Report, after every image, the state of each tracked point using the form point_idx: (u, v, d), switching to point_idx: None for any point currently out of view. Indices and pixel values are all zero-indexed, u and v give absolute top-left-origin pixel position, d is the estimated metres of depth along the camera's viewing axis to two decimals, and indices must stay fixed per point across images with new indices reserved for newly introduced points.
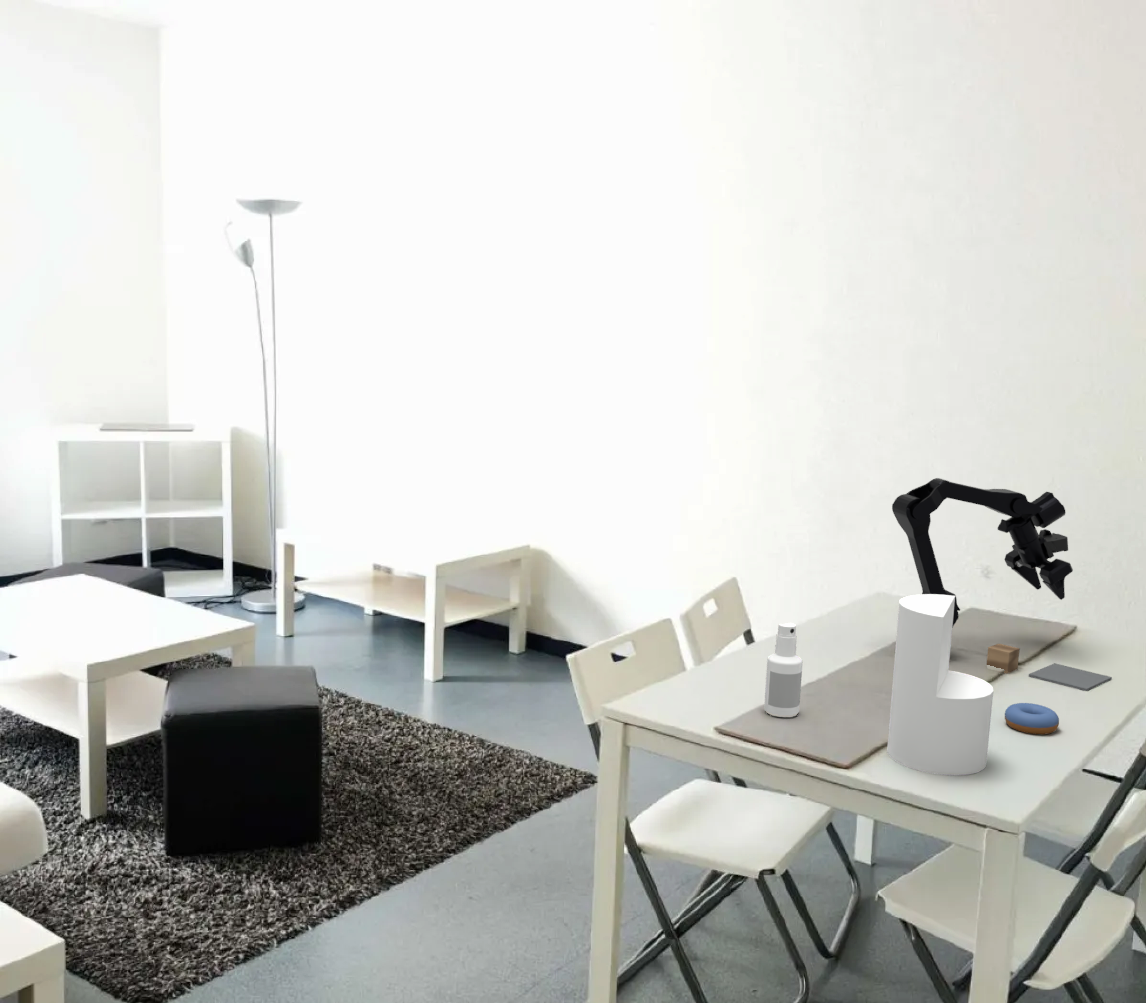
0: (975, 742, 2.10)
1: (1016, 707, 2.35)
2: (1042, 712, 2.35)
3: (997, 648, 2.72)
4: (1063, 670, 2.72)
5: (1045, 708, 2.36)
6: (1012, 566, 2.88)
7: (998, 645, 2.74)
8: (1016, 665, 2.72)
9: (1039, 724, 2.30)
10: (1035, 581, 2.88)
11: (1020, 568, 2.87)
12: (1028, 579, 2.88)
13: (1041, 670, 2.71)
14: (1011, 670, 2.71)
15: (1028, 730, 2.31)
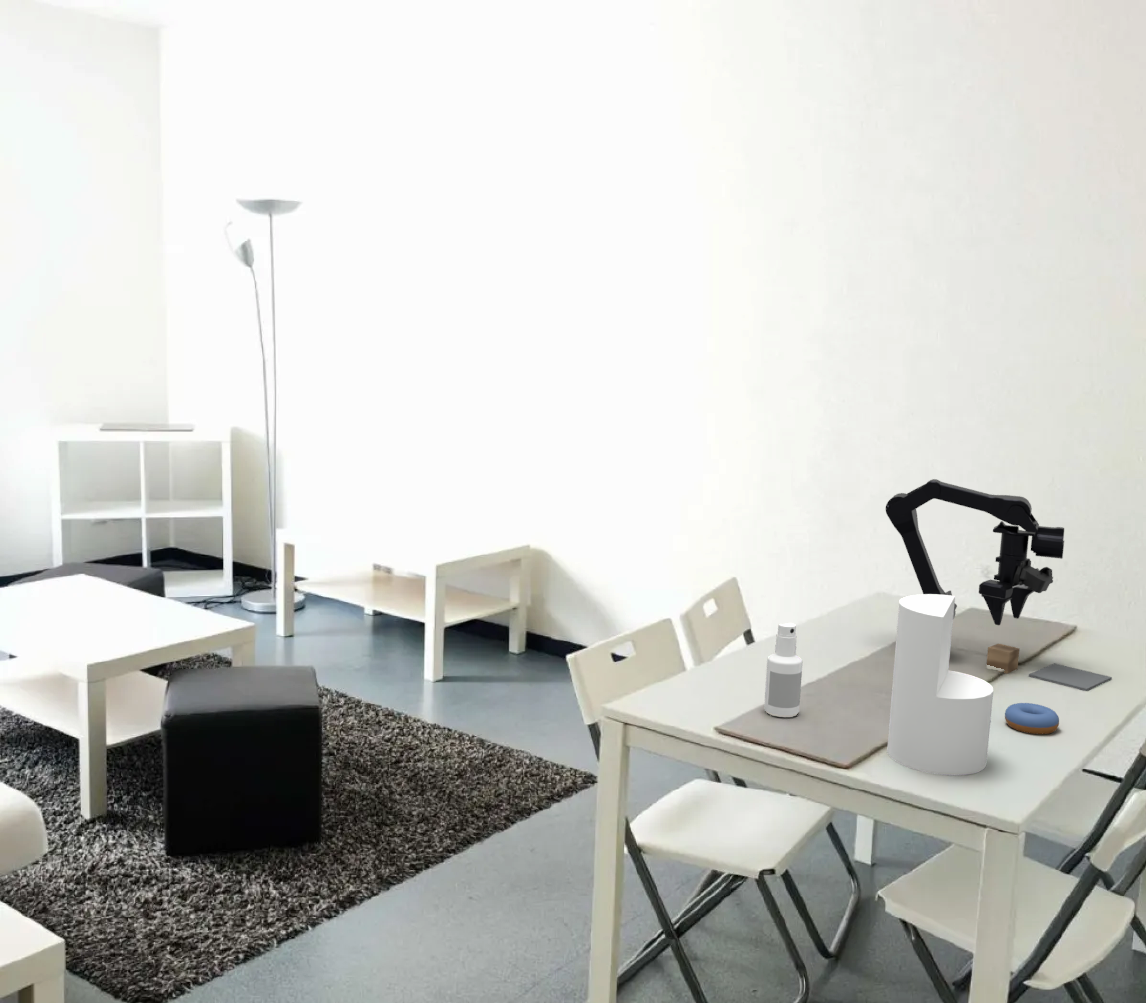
0: (975, 742, 2.10)
1: (1016, 707, 2.36)
2: (1042, 712, 2.35)
3: (997, 648, 2.72)
4: (1063, 670, 2.72)
5: (1045, 708, 2.36)
6: None
7: (998, 645, 2.74)
8: (1016, 665, 2.73)
9: (1039, 724, 2.30)
10: (1016, 608, 2.74)
11: None
12: (1011, 601, 2.75)
13: (1041, 670, 2.71)
14: (1011, 670, 2.71)
15: (1028, 730, 2.31)
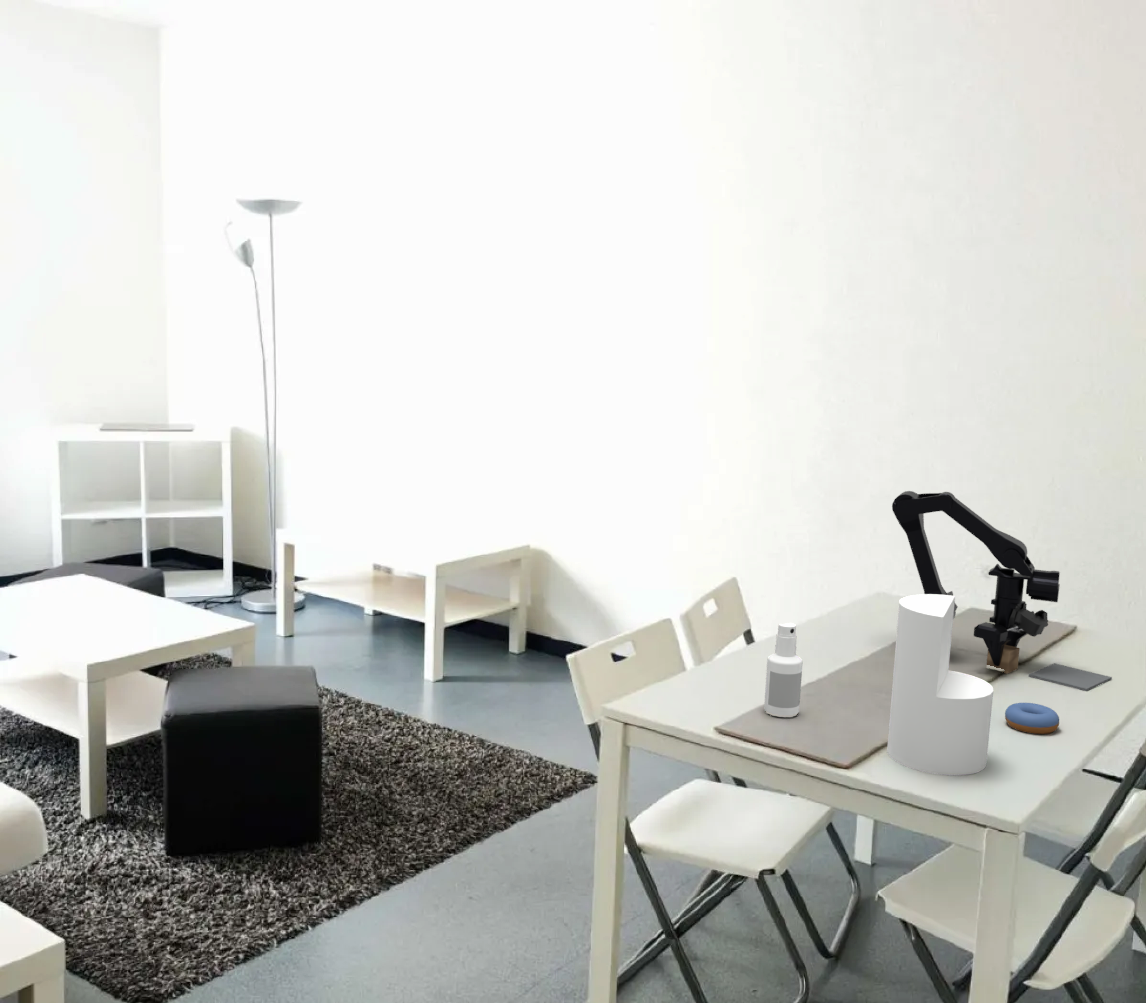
0: (975, 742, 2.10)
1: (1017, 707, 2.36)
2: (1042, 712, 2.35)
3: None
4: (1063, 670, 2.72)
5: (1045, 708, 2.36)
6: None
7: None
8: (1017, 665, 2.72)
9: (1040, 724, 2.31)
10: None
11: None
12: None
13: (1041, 670, 2.71)
14: (1011, 670, 2.71)
15: (1028, 730, 2.31)
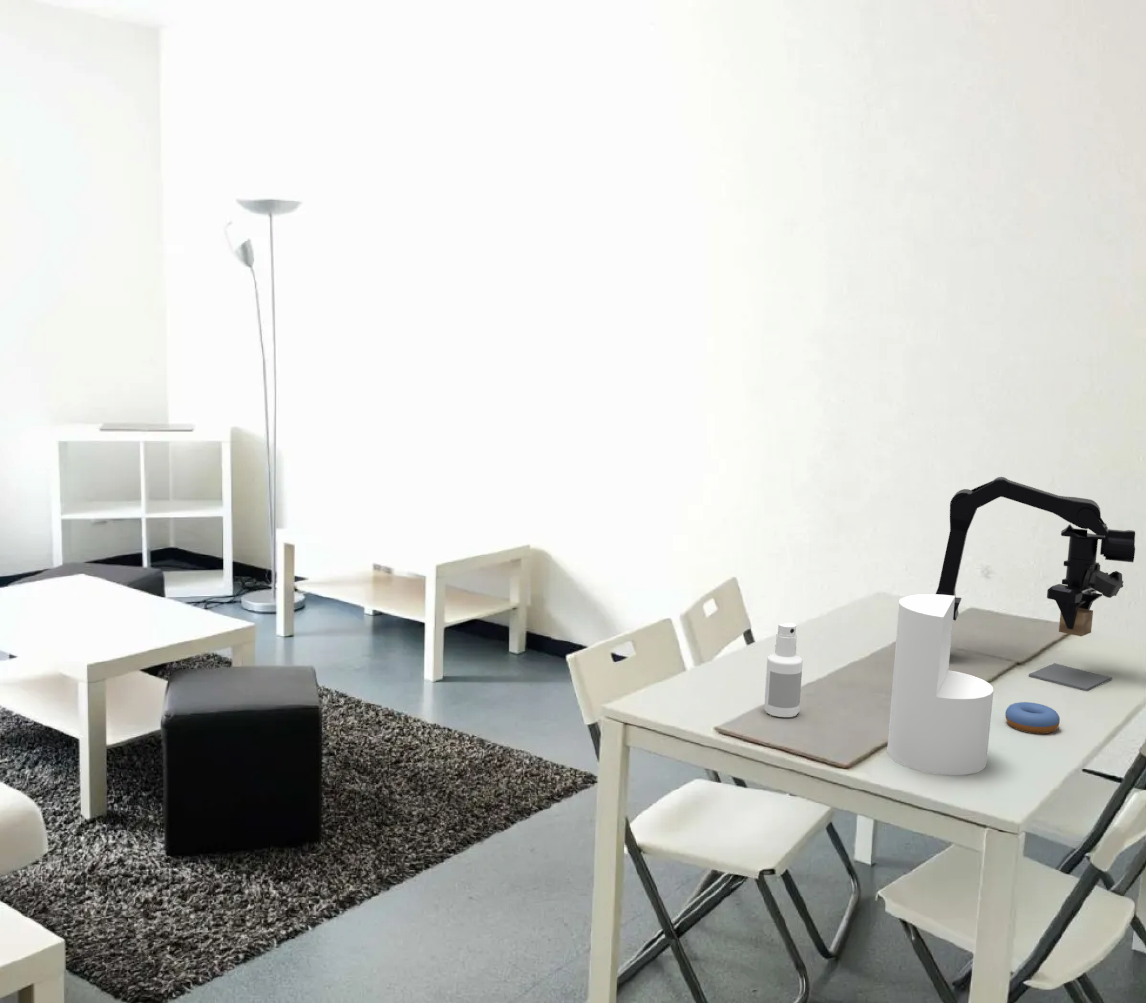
0: (975, 742, 2.10)
1: (1017, 707, 2.36)
2: (1043, 711, 2.35)
3: None
4: (1063, 670, 2.72)
5: (1045, 707, 2.36)
6: None
7: None
8: (1090, 628, 2.66)
9: (1040, 723, 2.31)
10: None
11: None
12: None
13: (1041, 670, 2.71)
14: (1085, 633, 2.64)
15: (1029, 729, 2.32)
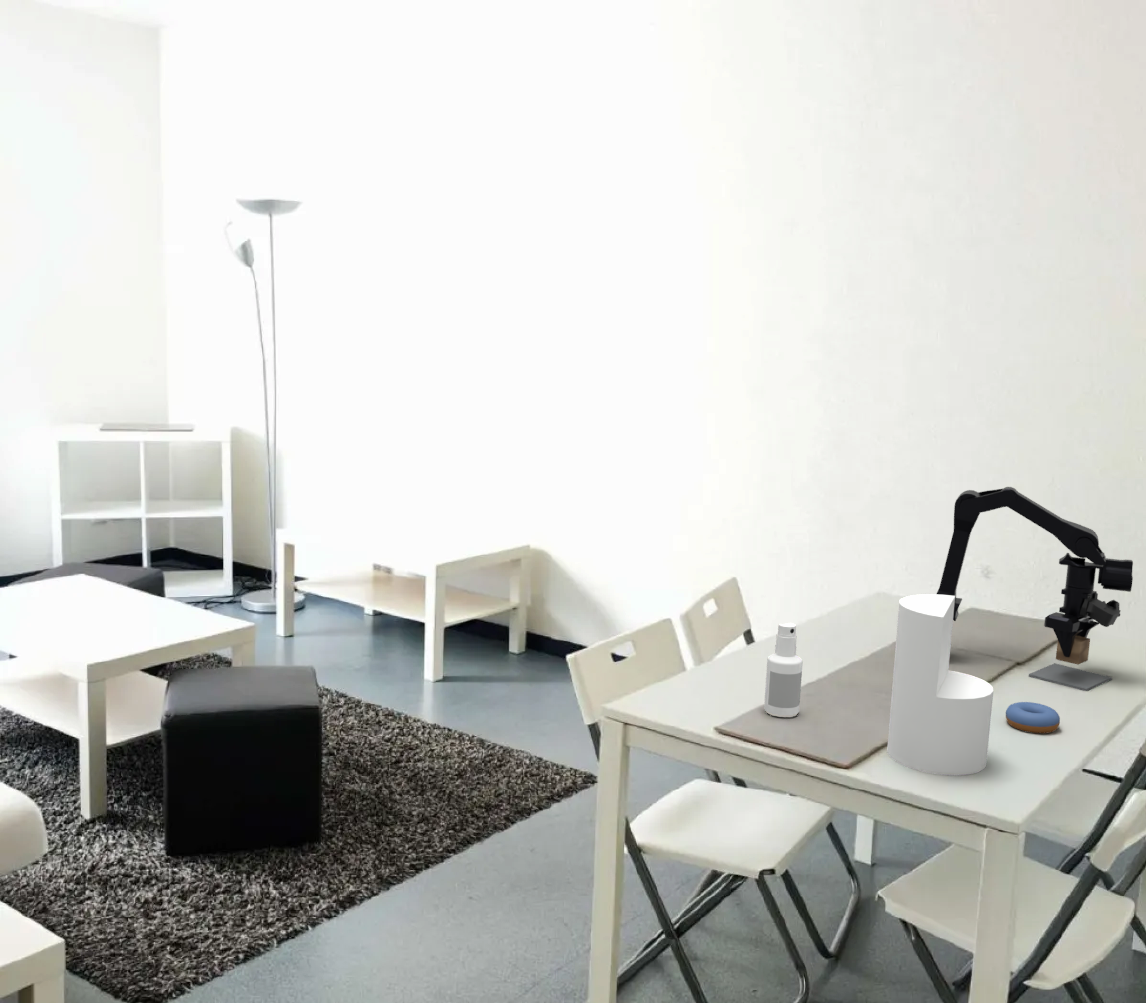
0: (975, 742, 2.10)
1: (1017, 706, 2.36)
2: (1043, 711, 2.36)
3: None
4: (1063, 670, 2.72)
5: (1046, 707, 2.36)
6: None
7: None
8: (1087, 656, 2.67)
9: (1040, 723, 2.31)
10: None
11: None
12: None
13: (1041, 670, 2.71)
14: (1082, 661, 2.65)
15: (1029, 729, 2.32)
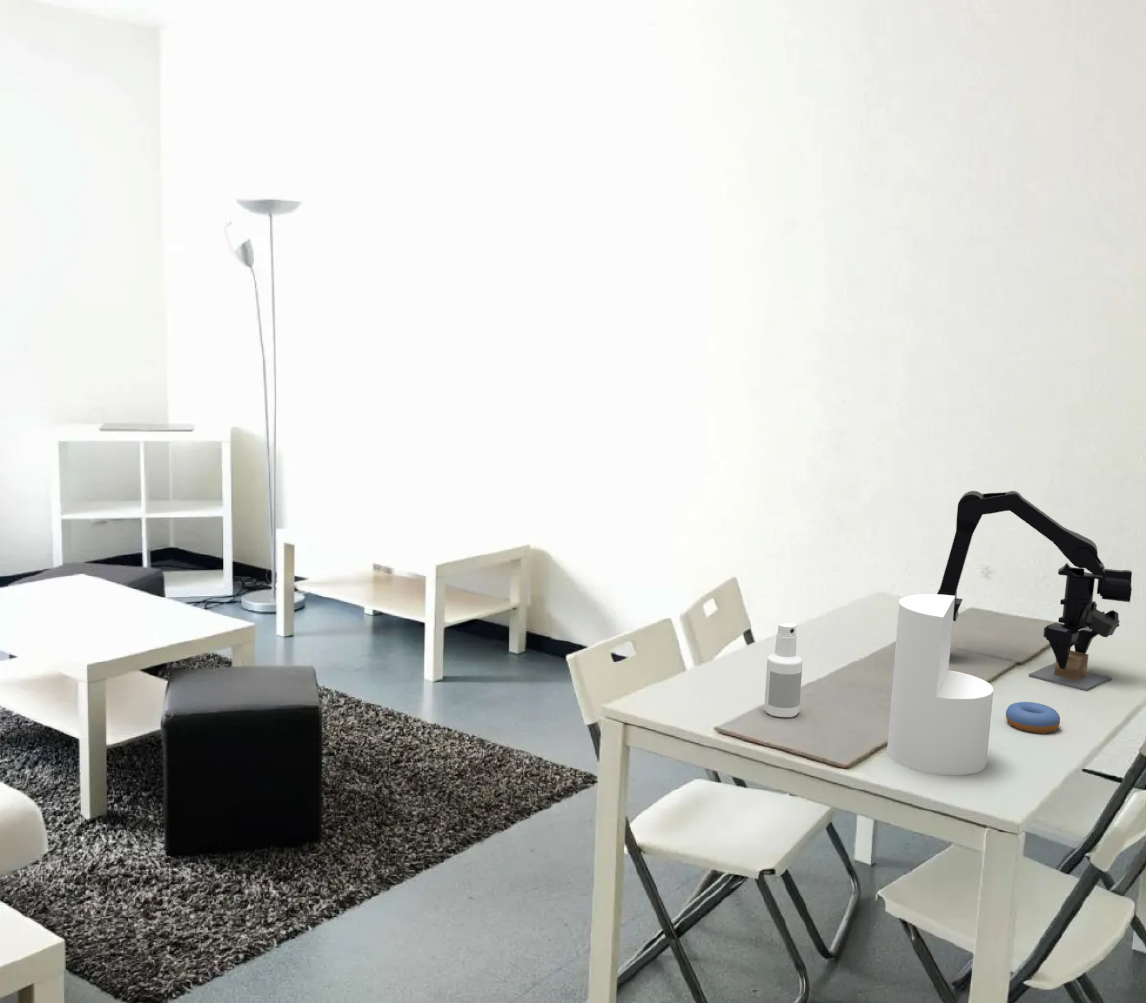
0: (975, 742, 2.10)
1: (1017, 706, 2.36)
2: (1043, 711, 2.36)
3: None
4: None
5: (1046, 707, 2.37)
6: None
7: None
8: (1085, 672, 2.67)
9: (1040, 723, 2.31)
10: (1080, 651, 2.70)
11: None
12: (1075, 644, 2.71)
13: (1041, 670, 2.71)
14: (1080, 676, 2.66)
15: (1029, 729, 2.32)
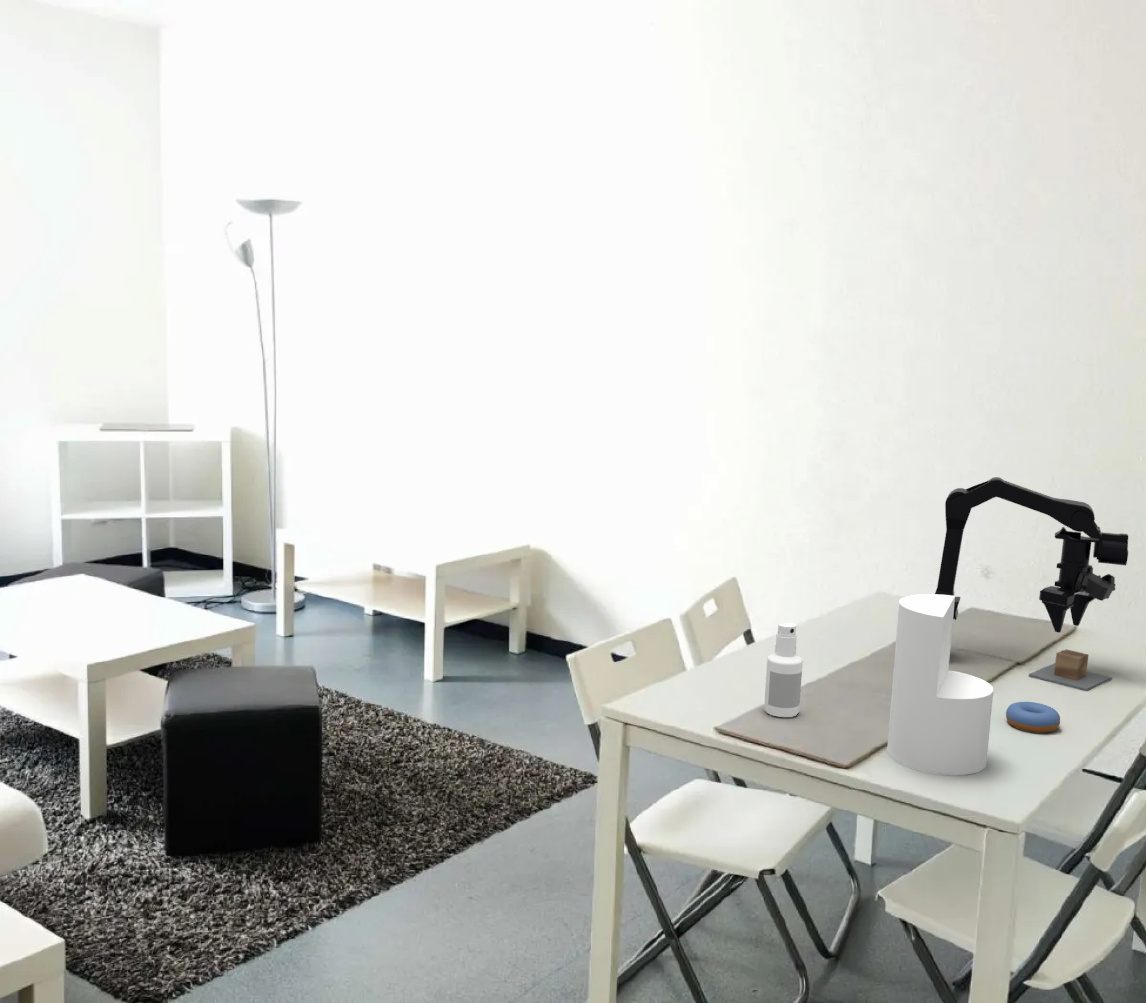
0: (975, 742, 2.10)
1: (1018, 706, 2.36)
2: (1043, 711, 2.36)
3: (1066, 654, 2.66)
4: None
5: (1046, 707, 2.37)
6: None
7: (1066, 651, 2.69)
8: (1085, 672, 2.67)
9: (1041, 723, 2.31)
10: (1076, 615, 2.70)
11: None
12: (1071, 608, 2.71)
13: (1041, 670, 2.71)
14: (1080, 676, 2.66)
15: (1029, 728, 2.32)
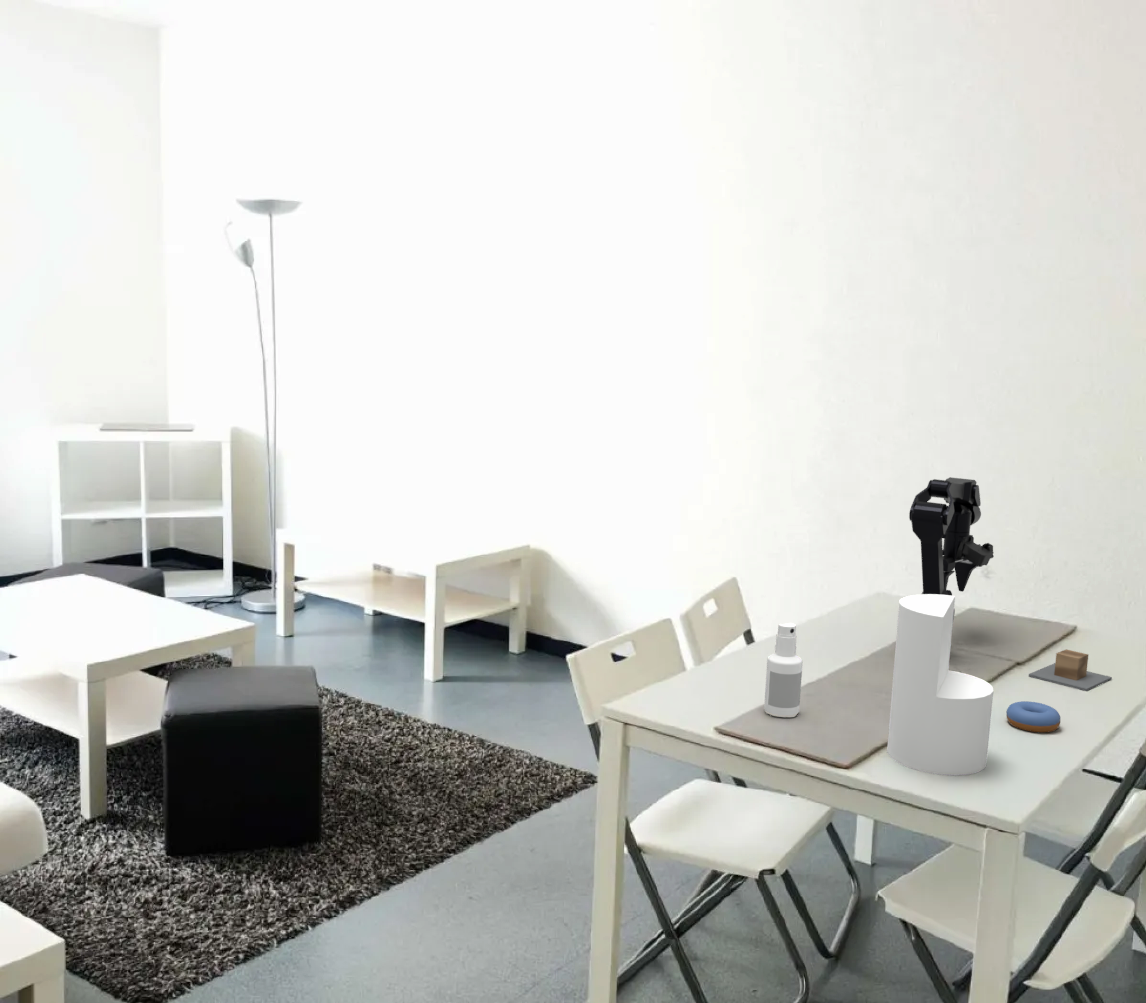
0: (975, 742, 2.10)
1: (1018, 706, 2.36)
2: (1044, 710, 2.36)
3: (1066, 654, 2.66)
4: None
5: (1046, 706, 2.37)
6: None
7: (1066, 651, 2.69)
8: (1085, 672, 2.67)
9: (1041, 723, 2.31)
10: (961, 582, 2.94)
11: (957, 562, 2.95)
12: (957, 575, 2.95)
13: (1041, 670, 2.71)
14: (1080, 676, 2.66)
15: (1030, 728, 2.32)
